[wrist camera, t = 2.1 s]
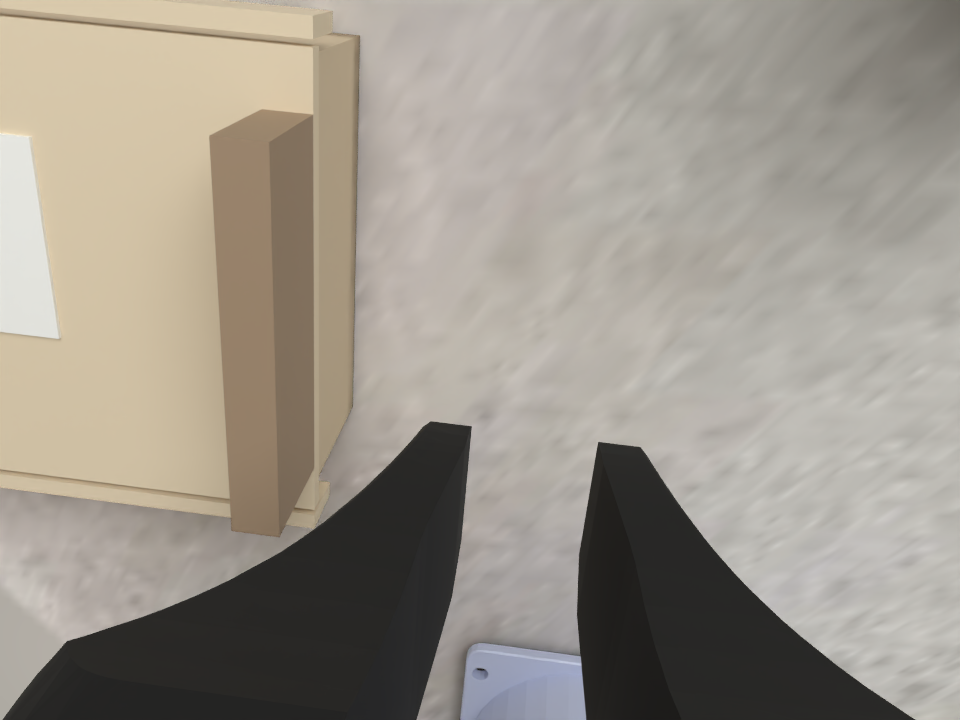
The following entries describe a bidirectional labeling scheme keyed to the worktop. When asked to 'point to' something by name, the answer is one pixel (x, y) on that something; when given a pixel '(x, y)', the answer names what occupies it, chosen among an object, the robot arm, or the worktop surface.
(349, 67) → the mailer box
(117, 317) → the lid
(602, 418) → the worktop surface
